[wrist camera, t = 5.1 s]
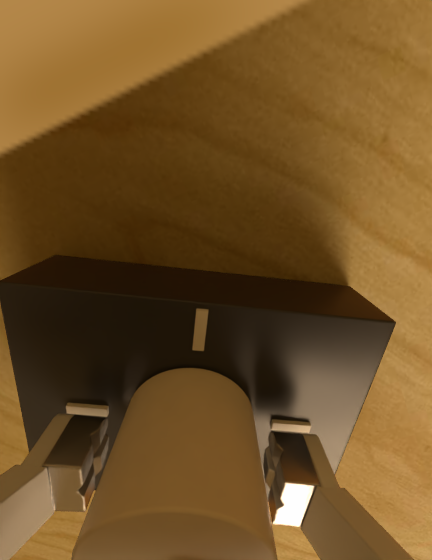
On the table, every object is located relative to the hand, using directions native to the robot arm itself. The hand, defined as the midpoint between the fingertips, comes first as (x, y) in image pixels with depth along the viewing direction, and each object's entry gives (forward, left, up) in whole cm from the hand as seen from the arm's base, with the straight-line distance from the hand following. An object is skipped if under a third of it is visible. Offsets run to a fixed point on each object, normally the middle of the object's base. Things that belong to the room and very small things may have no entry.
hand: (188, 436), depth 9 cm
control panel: (0, 0, -4) cm, 4 cm away
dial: (0, 0, -1) cm, 1 cm away
